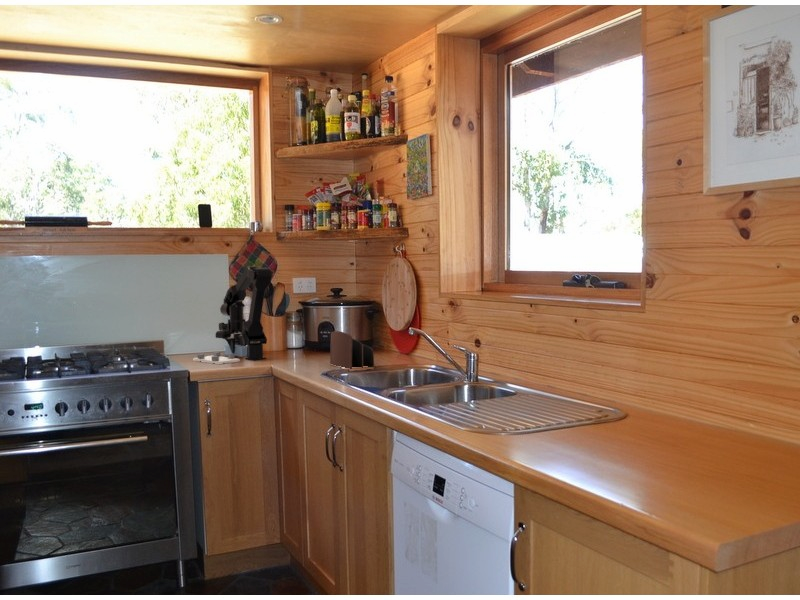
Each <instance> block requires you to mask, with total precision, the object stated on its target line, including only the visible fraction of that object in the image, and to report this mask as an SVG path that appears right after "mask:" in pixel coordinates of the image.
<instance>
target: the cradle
mask: <svg viewBox="0 0 800 600" xmlns="http://www.w3.org/2000/svg"><path fill="white" fill-rule="evenodd" d="M196 355H197V356H196V357H193V358H192V360H193V361H194V362H200V361H201V362H202V363H206V362H207V364H213V363H215V364H214V365H224V364H223V363H225V364H230V363H232V364H233V363H238V362H241V361H240V358H236V356H235V354H228V355H227V356H222V355H221V351H213V354H211V355H207V356H205V353H198V354H196Z"/></svg>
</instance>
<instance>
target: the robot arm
mask: <svg viewBox="0 0 800 600" xmlns="http://www.w3.org/2000/svg"><path fill="white" fill-rule="evenodd" d="M272 278H273V271H272V270H271V269H270V267H259V266H257V265H252V266H249V265H248V266H246V267H245V268H244V270H243V273H242V274H241V276H240V278H238V280H237V282H236V283H235V284H234V285H231V286H230V287H229V288H228V289H227V291H226V293H225V296H224V298H223V304H221V306H220V308H219V309H220V313H221V314H222V315H223V316H225V317H226V316H227V317H229V318H228V319H227V323H225V322H219V323H218V331H216V332H215V338H216V339H223V340H225V341H226V342H227V345H229V347H230V349H231V352H232V353H234V352H235V345H236V343H237V341H236V340H237V338H236V337H235V336H238V338H239V339H240V340H239V341H240V343H239V345H243V346H247V356H246V357H244V360H250V361H256V360H264V359H267V357H266V356H264V353H263V351H264V350H263V349H264V348H263V347H264V345H266V344H267V342H268V338H267V337H266V334H265V332H264V326H263V325H262V323H261V319H262V313H263V306H264V300H265V294H266V289H268V287H269V286H270V285H271V284H272V283H271V282H272ZM250 285H252V295H251V302H250V307H249V313H248V319H247V320H246V319H245V318H244V308H245V306H246V305H245V304H244V303H243V302H244V301H245V299H246V298H247V289H248V288H249V287H250Z"/></svg>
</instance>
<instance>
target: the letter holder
mask: <svg viewBox="0 0 800 600" xmlns="http://www.w3.org/2000/svg"><path fill="white" fill-rule="evenodd" d="M329 348H330V350H329V351H330V353H329V354H330V355H329V356H330V358H329V359H330V361H329V365H330V364H333V365H336V366H341V367H345V368H350V369H352V367H362V368H363V366H368V367H374V368H375V355H374V354H375V353H374V349H373V348H372V347H370V346H369V345H366V344H363V343H362V342H361V341H359V340H357V339H355V338H353V337H352V336H351V334H348V333H346V332H344V331H338V330H337V331H336V330H335V331H331V332H330V347H329ZM333 365H332V366H333Z"/></svg>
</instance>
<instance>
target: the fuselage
mask: <svg viewBox="0 0 800 600" xmlns="http://www.w3.org/2000/svg"><path fill="white" fill-rule="evenodd" d="M224 354H225V355H227V356H228V354H235V357H244V358H245V357H247V345H246V346H243V345H240V344H235V352H234V353H232V352H231V349H230V347H229V344H226V345H224Z"/></svg>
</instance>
